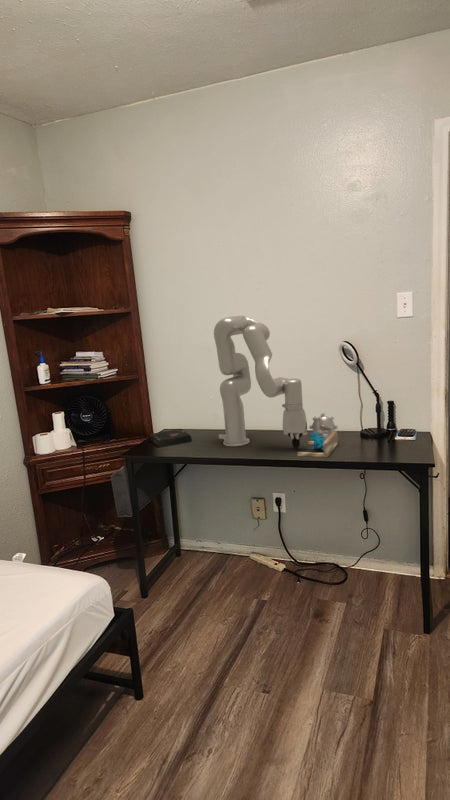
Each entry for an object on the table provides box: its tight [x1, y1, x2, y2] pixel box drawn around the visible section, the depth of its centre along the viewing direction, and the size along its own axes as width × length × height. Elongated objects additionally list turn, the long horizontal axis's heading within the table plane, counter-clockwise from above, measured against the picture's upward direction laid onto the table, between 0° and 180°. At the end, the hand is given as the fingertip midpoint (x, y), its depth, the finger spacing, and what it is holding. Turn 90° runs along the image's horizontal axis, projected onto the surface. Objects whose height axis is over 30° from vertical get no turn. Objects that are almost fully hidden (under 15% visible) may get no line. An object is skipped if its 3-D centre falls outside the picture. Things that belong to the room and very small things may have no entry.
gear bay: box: [296, 430, 338, 458], centre depth 225 cm, size 13×20×6 cm, turn 156°
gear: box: [309, 412, 339, 439], centre depth 235 cm, size 12×3×13 cm, turn 66°
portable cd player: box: [149, 428, 193, 448], centre depth 262 cm, size 16×17×4 cm
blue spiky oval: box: [310, 431, 327, 452], centre depth 225 cm, size 11×6×10 cm
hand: (296, 447), depth 229 cm, fingers closed
